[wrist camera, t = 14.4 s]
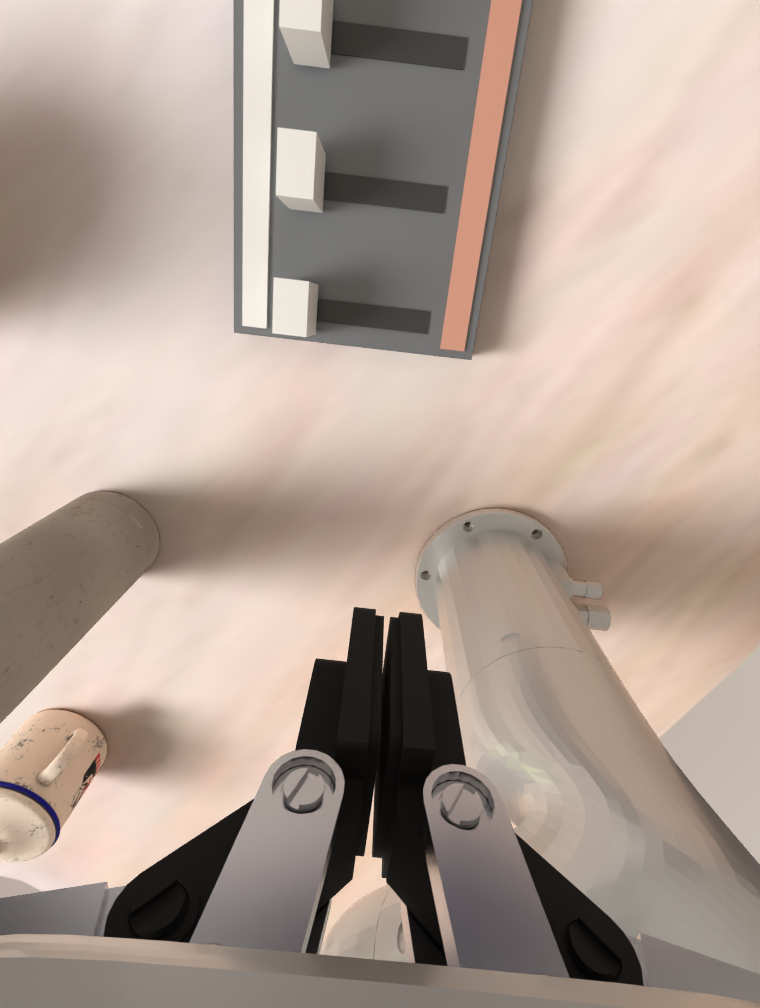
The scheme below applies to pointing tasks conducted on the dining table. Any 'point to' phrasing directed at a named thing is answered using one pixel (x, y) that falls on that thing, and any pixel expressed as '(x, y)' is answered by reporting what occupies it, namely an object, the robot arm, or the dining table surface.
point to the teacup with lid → (45, 779)
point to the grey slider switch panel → (372, 171)
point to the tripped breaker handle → (307, 30)
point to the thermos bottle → (66, 583)
